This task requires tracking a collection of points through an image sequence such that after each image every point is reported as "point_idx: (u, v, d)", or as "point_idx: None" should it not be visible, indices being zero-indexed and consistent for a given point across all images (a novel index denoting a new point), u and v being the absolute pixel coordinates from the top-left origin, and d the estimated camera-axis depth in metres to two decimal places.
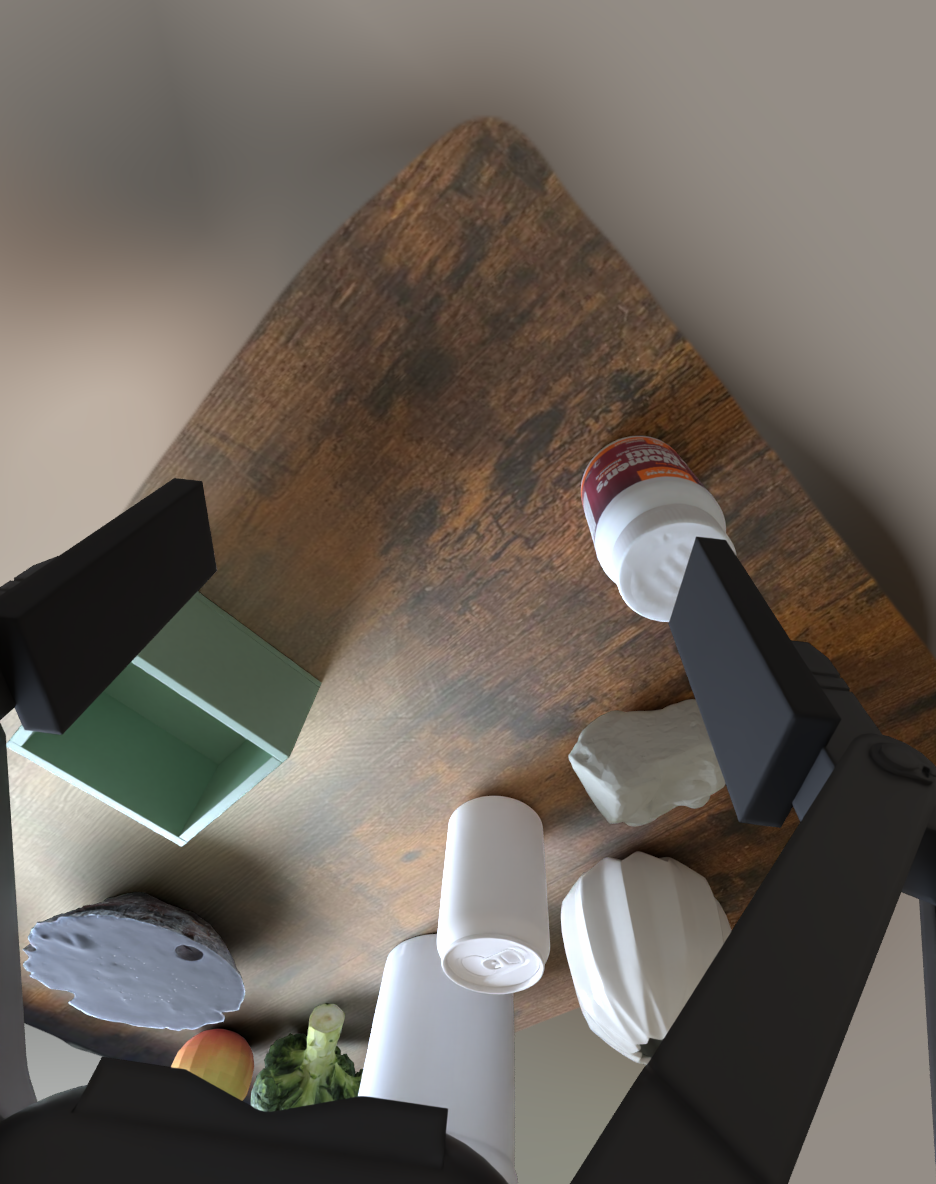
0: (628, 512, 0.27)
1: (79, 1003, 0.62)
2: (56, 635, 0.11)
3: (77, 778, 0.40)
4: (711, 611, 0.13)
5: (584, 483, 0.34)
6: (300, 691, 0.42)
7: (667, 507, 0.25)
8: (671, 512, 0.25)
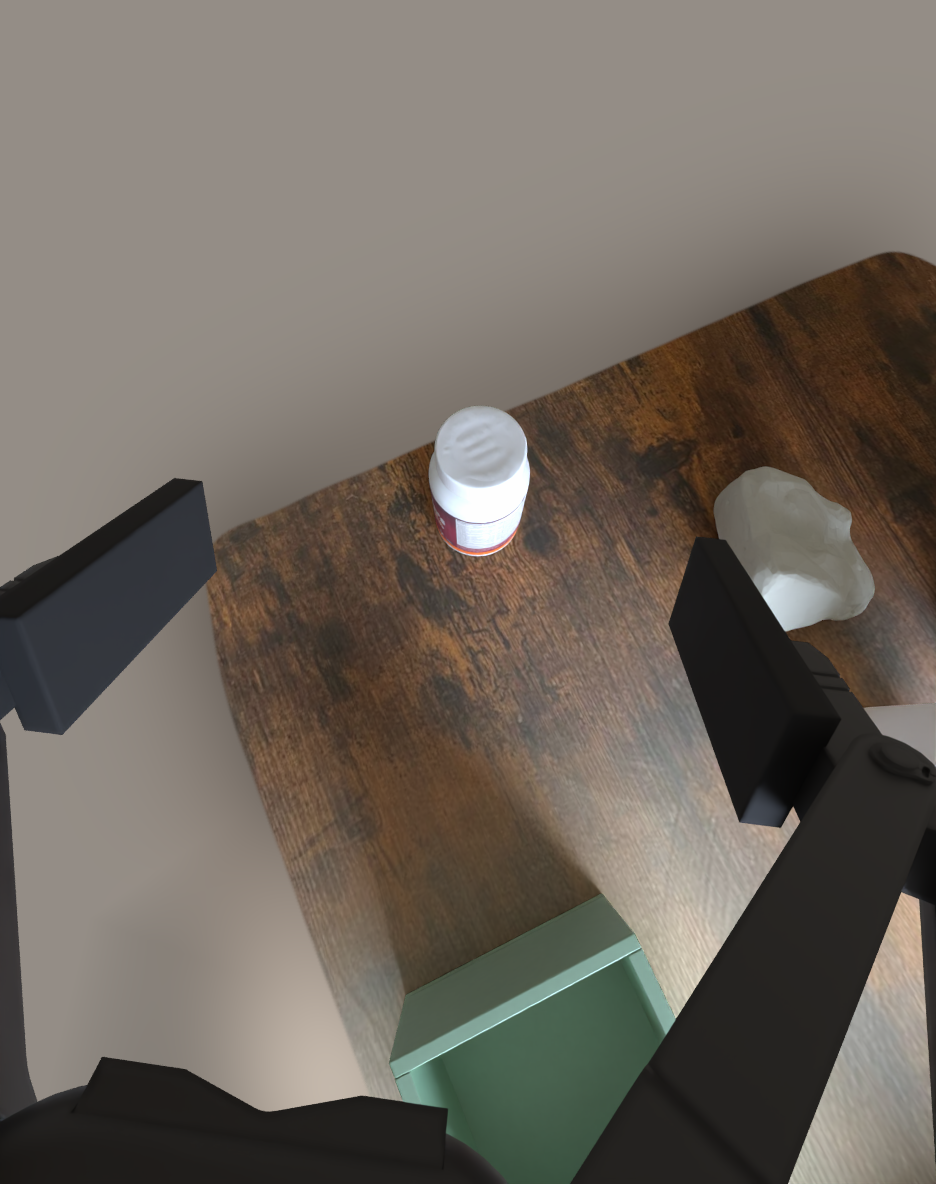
0: (440, 485, 0.34)
1: None
2: (56, 635, 0.11)
3: None
4: (711, 611, 0.13)
5: (454, 545, 0.41)
6: (591, 911, 0.35)
7: None
8: None
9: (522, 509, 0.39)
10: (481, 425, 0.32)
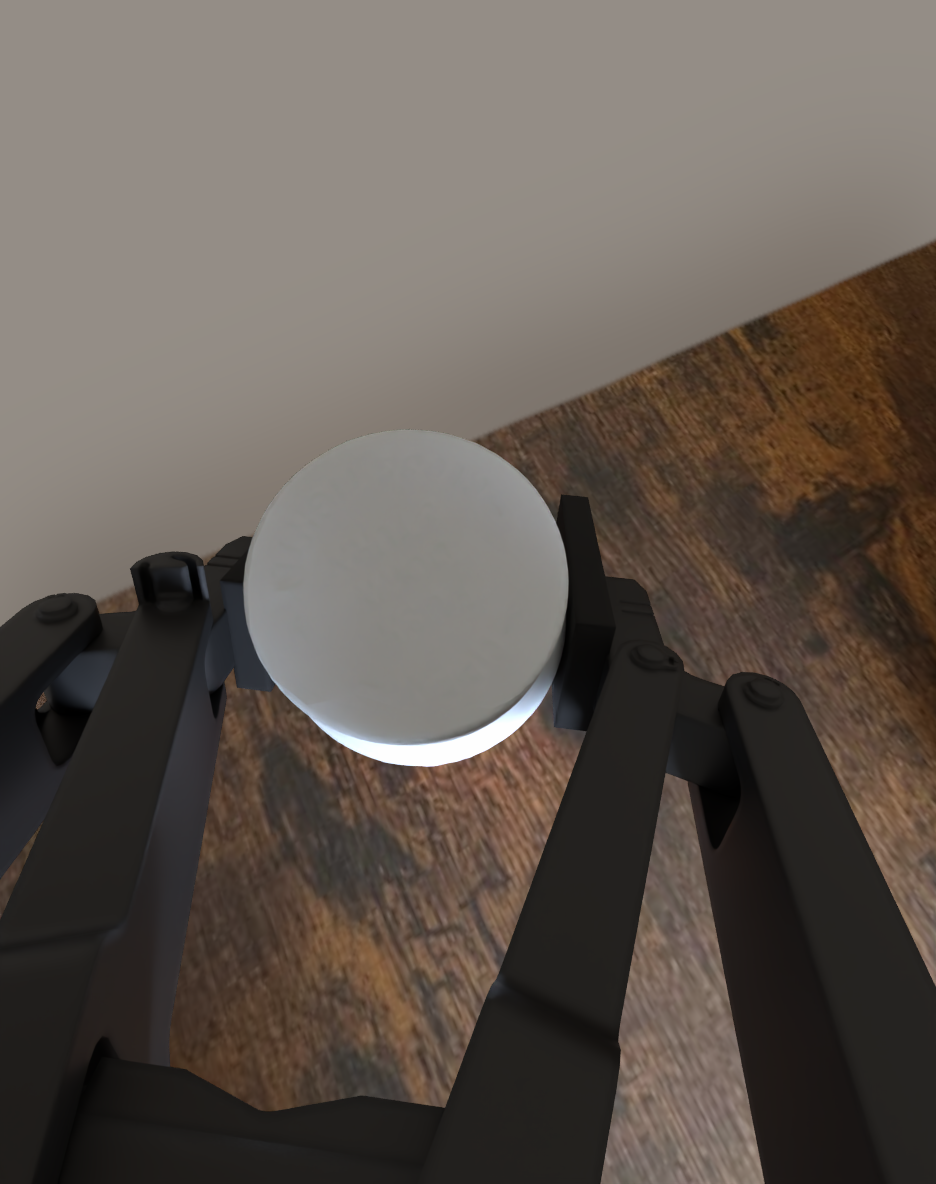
0: None
1: None
2: None
3: None
4: None
5: None
6: None
7: None
8: None
9: None
10: (411, 499, 0.09)
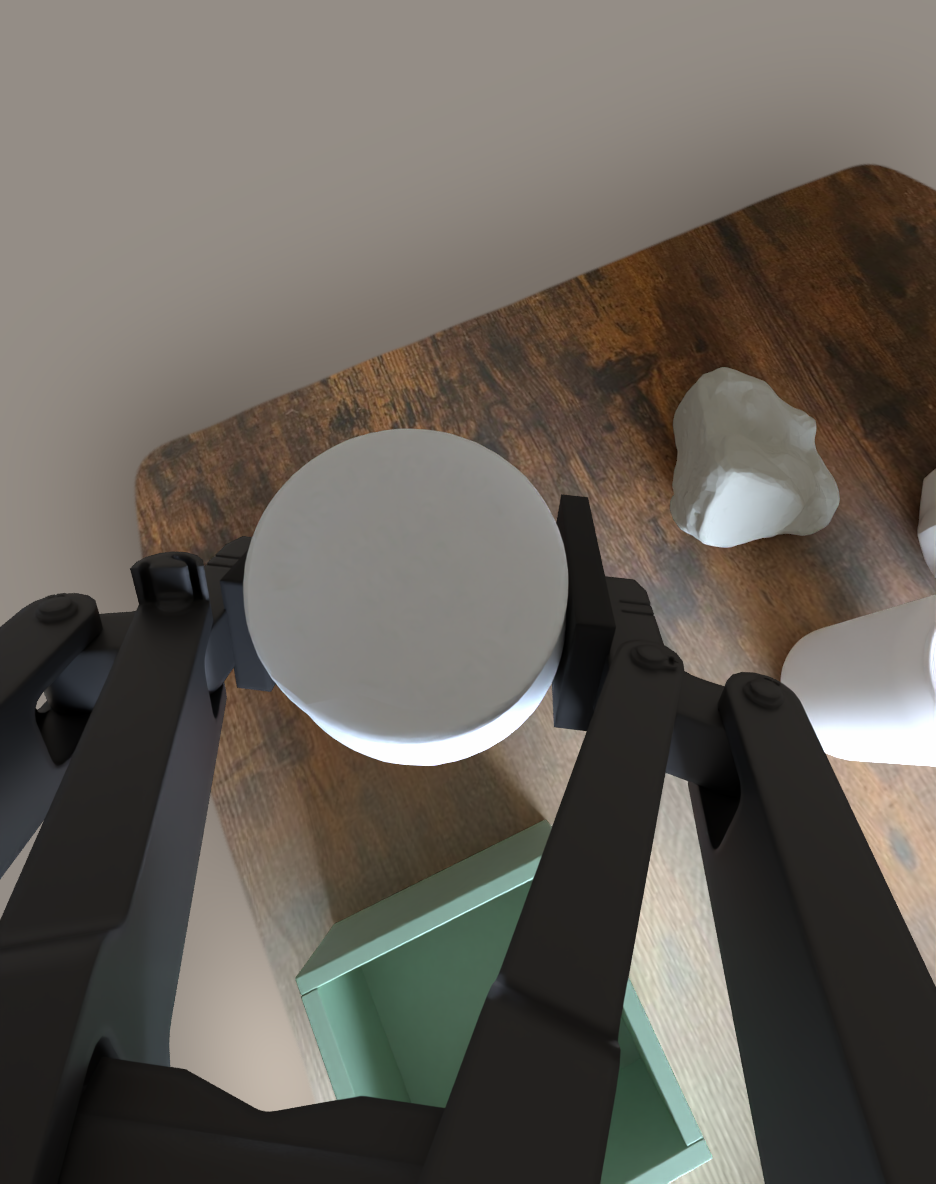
0: None
1: None
2: None
3: None
4: None
5: None
6: (530, 834, 0.33)
7: None
8: None
9: None
10: (411, 499, 0.09)
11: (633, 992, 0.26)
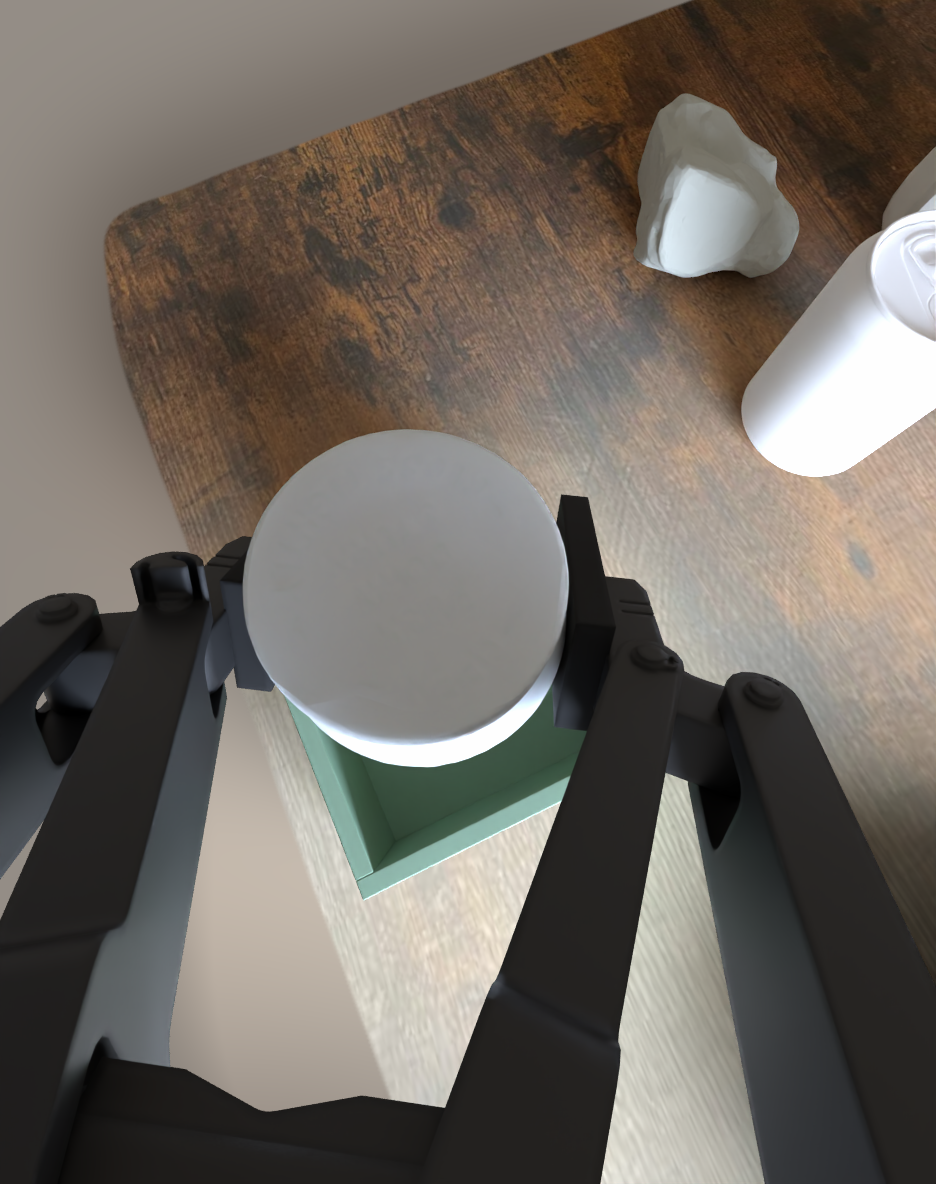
0: None
1: None
2: None
3: (464, 828, 0.24)
4: None
5: None
6: None
7: None
8: None
9: None
10: (411, 499, 0.09)
11: None
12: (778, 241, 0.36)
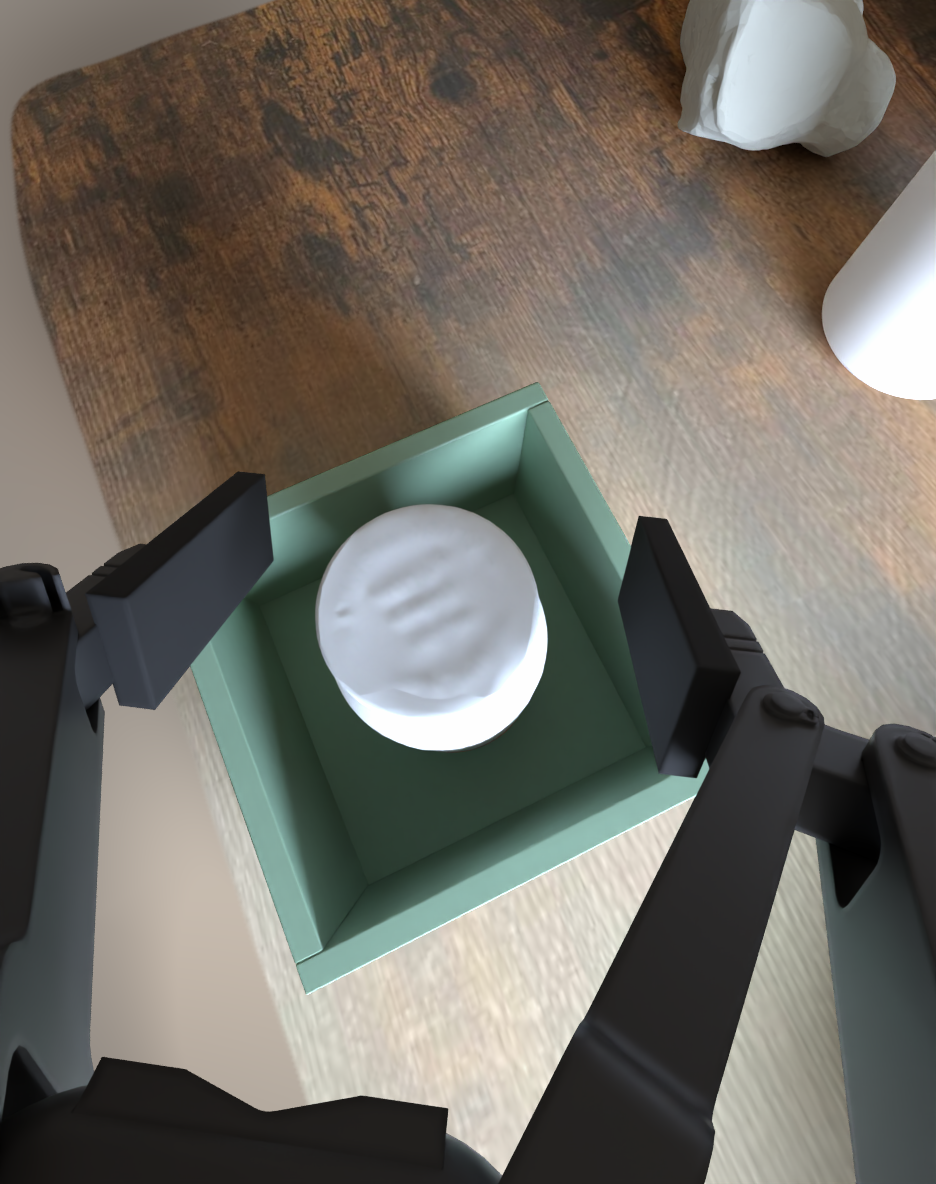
0: None
1: None
2: (153, 615, 0.12)
3: (462, 881, 0.16)
4: (646, 584, 0.14)
5: None
6: None
7: None
8: None
9: None
10: (430, 553, 0.14)
11: None
12: (869, 99, 0.28)
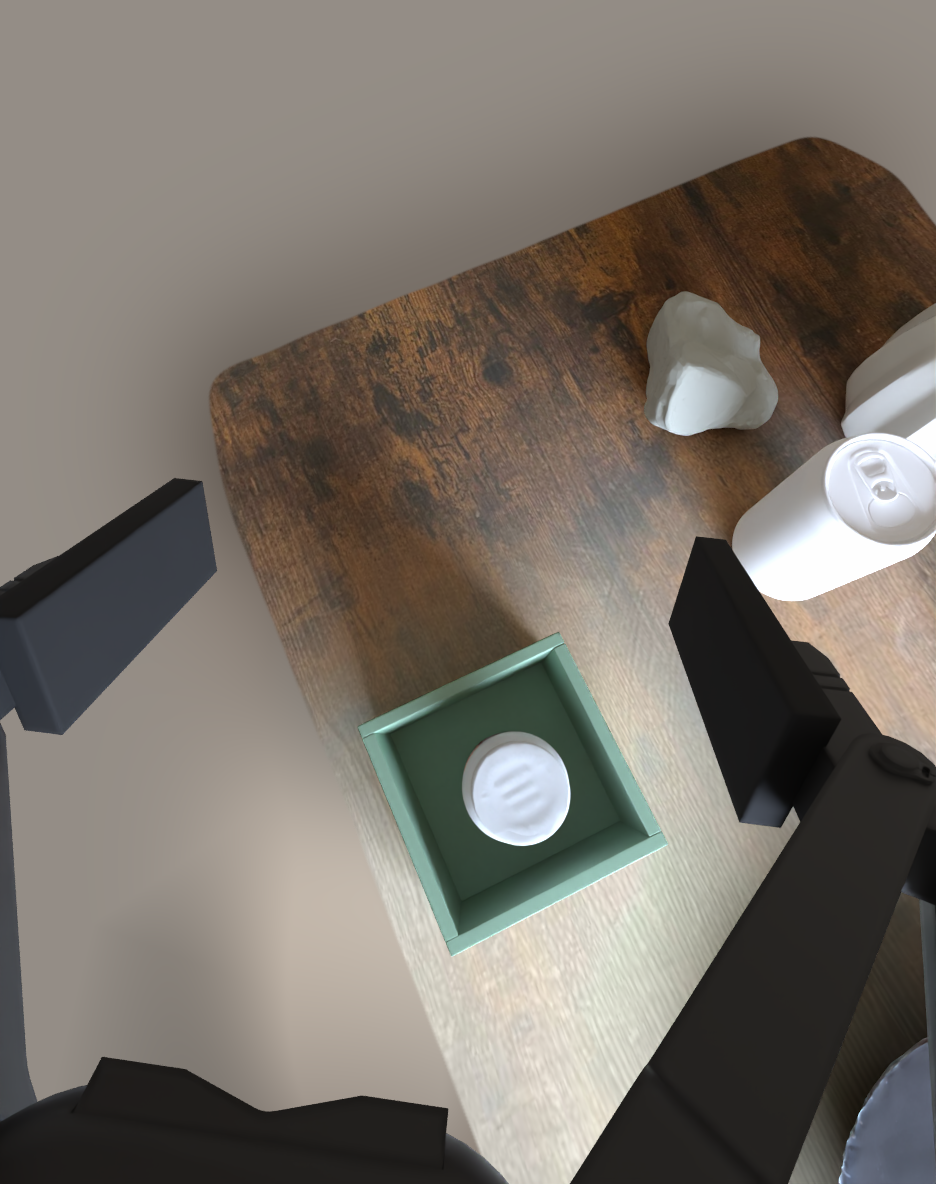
0: None
1: None
2: (56, 635, 0.11)
3: (524, 901, 0.33)
4: (711, 611, 0.13)
5: None
6: None
7: (471, 782, 0.31)
8: (471, 782, 0.31)
9: None
10: (521, 766, 0.30)
11: (609, 733, 0.35)
12: (761, 408, 0.45)
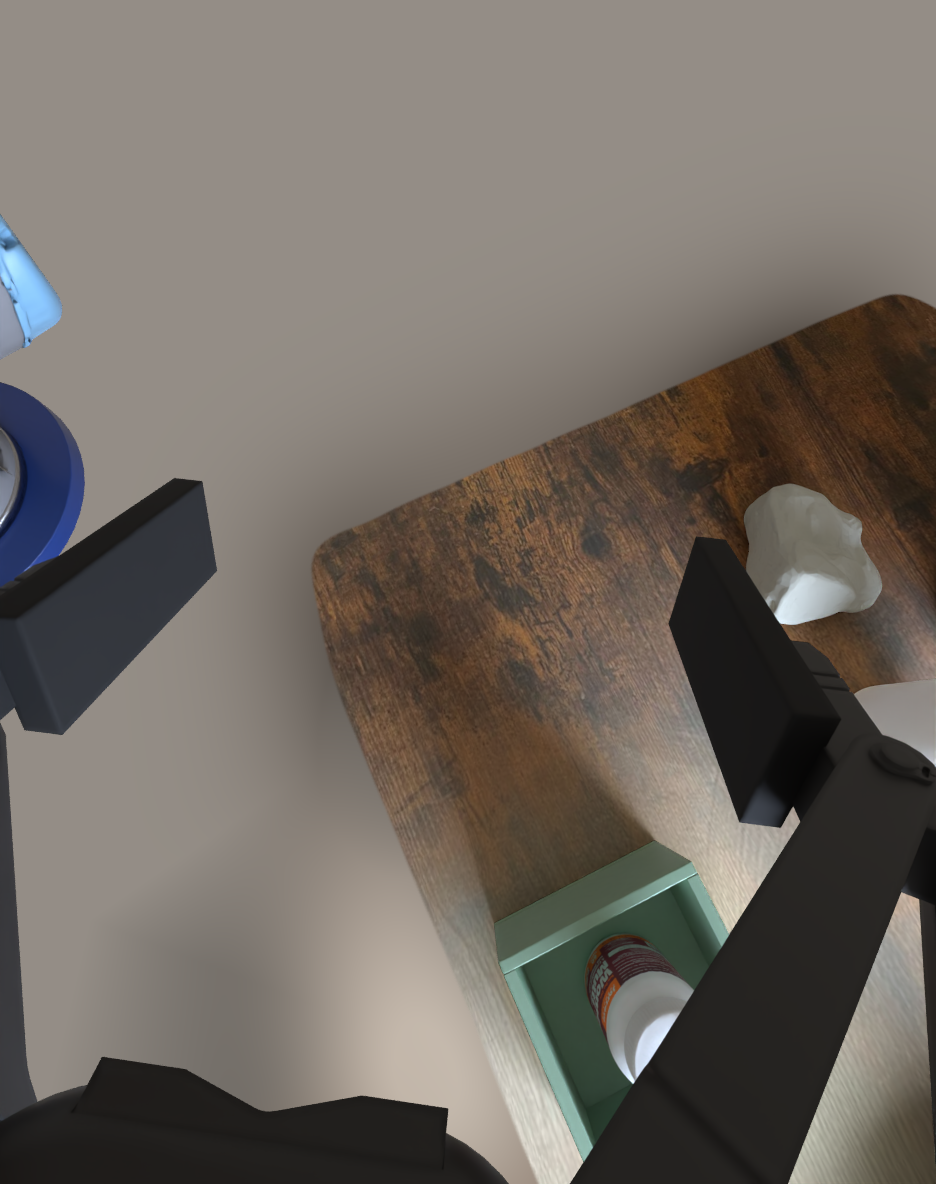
0: (626, 1064, 0.33)
1: None
2: (56, 635, 0.11)
3: None
4: (711, 611, 0.13)
5: None
6: (649, 852, 0.42)
7: (625, 1044, 0.32)
8: (628, 1048, 0.32)
9: None
10: None
11: None
12: (865, 597, 0.46)
